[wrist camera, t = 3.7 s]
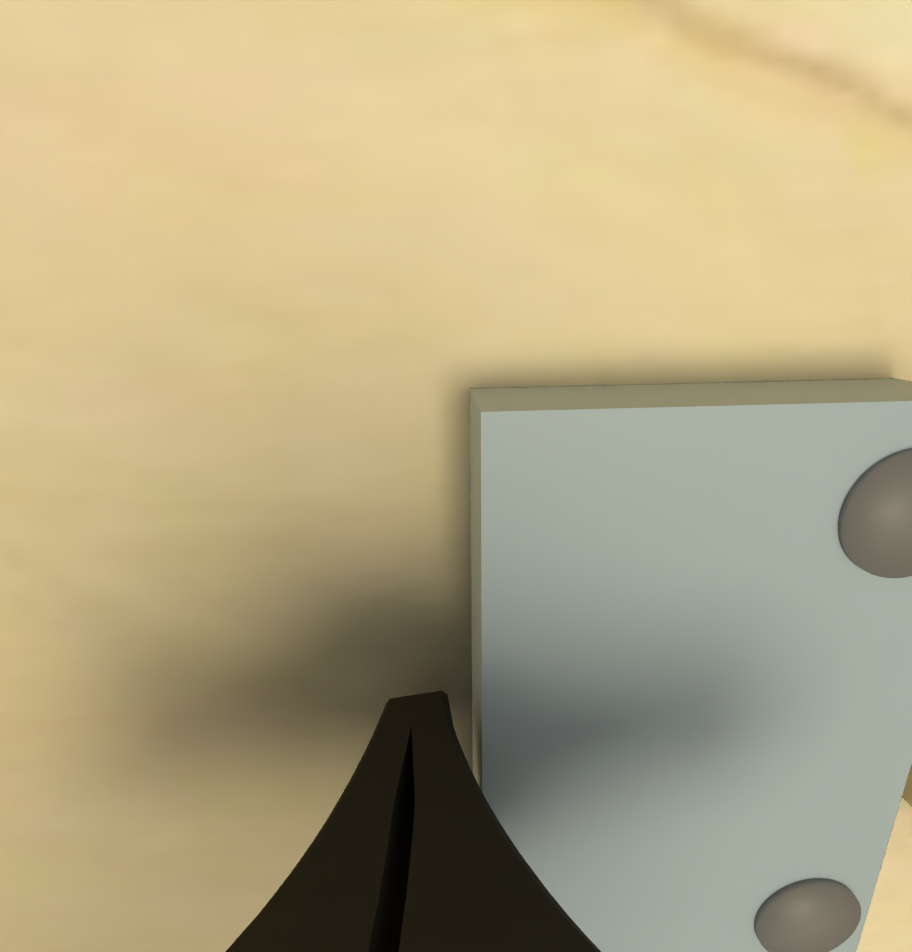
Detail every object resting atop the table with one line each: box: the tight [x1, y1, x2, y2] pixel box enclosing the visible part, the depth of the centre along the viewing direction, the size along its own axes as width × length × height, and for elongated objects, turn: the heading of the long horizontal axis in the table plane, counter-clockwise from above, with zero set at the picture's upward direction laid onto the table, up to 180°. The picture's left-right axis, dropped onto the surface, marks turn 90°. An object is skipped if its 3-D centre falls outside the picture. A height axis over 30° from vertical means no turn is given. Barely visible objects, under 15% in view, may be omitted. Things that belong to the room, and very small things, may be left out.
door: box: [469, 378, 912, 952], centre depth 12 cm, size 14×9×3 cm, turn 1°
